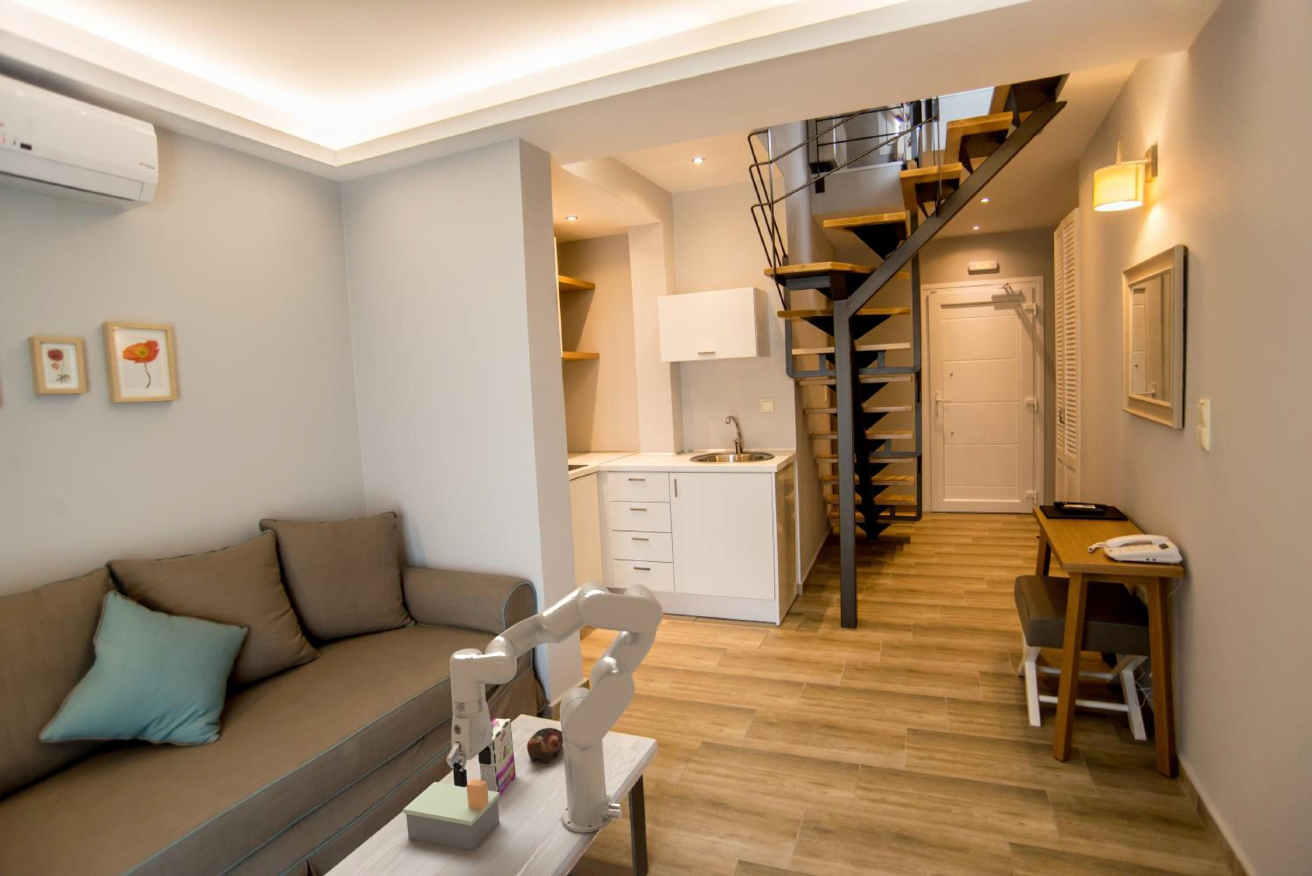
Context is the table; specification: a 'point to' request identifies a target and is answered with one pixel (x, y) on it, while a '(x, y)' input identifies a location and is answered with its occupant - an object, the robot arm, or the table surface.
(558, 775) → the table surface
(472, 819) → the lid
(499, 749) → the candy bar box
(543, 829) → the table surface
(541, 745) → the decorative turtle
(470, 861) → the table surface
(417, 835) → the parts tub
